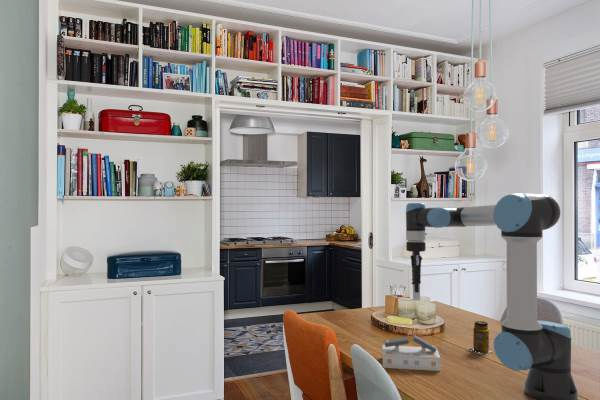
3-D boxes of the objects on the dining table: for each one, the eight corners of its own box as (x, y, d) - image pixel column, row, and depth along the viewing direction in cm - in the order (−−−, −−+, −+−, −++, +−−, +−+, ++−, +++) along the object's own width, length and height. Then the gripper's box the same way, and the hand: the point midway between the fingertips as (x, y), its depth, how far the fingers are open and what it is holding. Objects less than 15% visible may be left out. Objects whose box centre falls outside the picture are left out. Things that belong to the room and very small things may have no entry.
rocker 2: (434, 352, 179) (436, 349, 179) (413, 340, 180) (415, 337, 180) (433, 349, 183) (435, 345, 183) (412, 337, 185) (414, 334, 185)
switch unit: (440, 371, 175) (440, 352, 175) (382, 367, 178) (382, 349, 178) (436, 360, 187) (436, 342, 187) (382, 357, 190) (382, 340, 190)
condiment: (493, 351, 199) (493, 322, 199) (480, 355, 194) (480, 325, 194) (478, 347, 205) (478, 319, 205) (465, 350, 200) (465, 322, 200)
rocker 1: (409, 343, 181) (408, 339, 181) (385, 347, 182) (384, 343, 182) (408, 340, 185) (407, 336, 185) (385, 343, 186) (384, 340, 187)
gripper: (427, 242, 184) (428, 303, 184) (423, 240, 197) (423, 297, 197) (407, 242, 185) (408, 303, 185) (404, 240, 198) (405, 297, 198)
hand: (416, 300), depth 191 cm, fingers closed
